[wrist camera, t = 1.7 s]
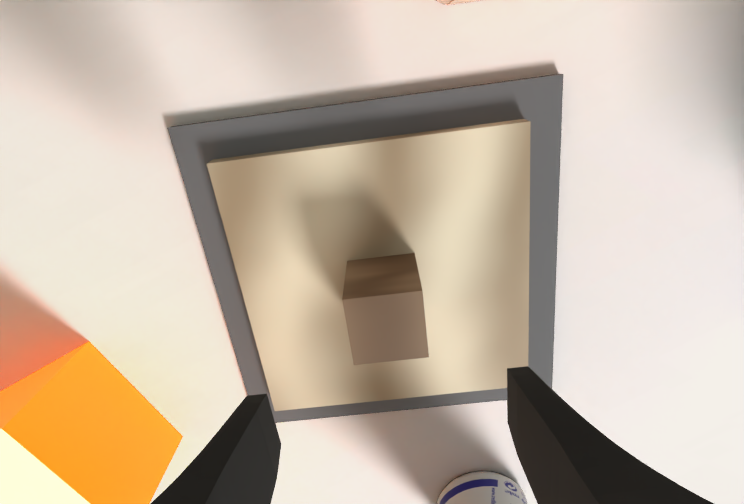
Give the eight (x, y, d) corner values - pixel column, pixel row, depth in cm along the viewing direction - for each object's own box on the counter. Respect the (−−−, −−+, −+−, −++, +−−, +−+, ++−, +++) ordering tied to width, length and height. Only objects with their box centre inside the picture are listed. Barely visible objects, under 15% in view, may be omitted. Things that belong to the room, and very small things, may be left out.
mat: (559, 73, 18) (563, 74, 18) (549, 390, 24) (551, 395, 24) (171, 126, 19) (167, 128, 19) (258, 419, 25) (256, 424, 25)
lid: (524, 118, 18) (565, 135, 15) (523, 375, 24) (553, 439, 20) (212, 159, 19) (171, 186, 15) (277, 400, 24) (259, 467, 20)
